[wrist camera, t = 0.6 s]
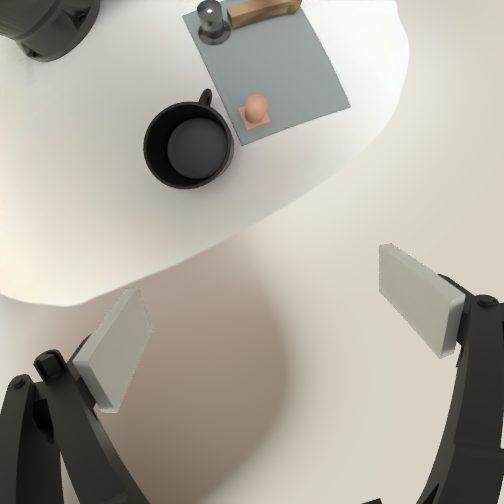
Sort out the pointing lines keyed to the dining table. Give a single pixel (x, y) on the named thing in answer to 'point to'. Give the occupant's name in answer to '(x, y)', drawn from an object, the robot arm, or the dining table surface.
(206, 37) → the pivot post
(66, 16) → the robot arm
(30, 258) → the dining table surface
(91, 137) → the dining table surface
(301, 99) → the mat
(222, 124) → the mug
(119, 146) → the dining table surface
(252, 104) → the post
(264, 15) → the gate
